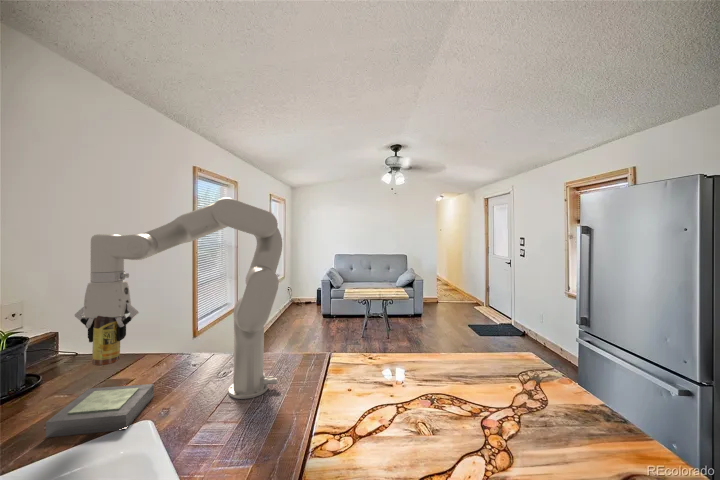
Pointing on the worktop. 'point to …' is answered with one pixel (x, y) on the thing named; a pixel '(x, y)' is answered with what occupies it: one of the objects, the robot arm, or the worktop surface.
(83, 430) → the stand
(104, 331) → the sauce bottle
